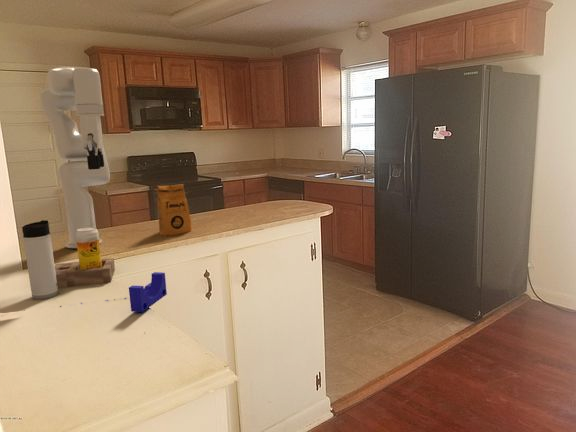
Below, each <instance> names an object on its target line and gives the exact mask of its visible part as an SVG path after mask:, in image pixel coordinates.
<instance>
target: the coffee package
mask: <svg viewBox="0 0 576 432" xmlns="http://www.w3.org/2000/svg"><path fill="white" fill-rule="evenodd" d="M185 192H186V191H185V187H184V183H182V184H180V183H179V184H174V185H173V184H171V185H157V186H156V194H157V195H156V196H157V211H158V228H159V229H158V230H159V235H161V234H162V235H161V236H163V235H164V237H167V236H166V235H169V236H175V235H181V234H185V233H189V232H192V231H193V230H192V219H191V214H190V210H189V204H188V200H187V197H186V193H185Z"/></svg>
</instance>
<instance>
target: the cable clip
mask: <svg viewBox="0 0 576 432" xmlns="http://www.w3.org/2000/svg"><path fill="white" fill-rule="evenodd" d="M128 294H129V303H130V311H131V312H133V313H134V312H137V313H144V312H145V311H146V310H147V309H149V308H150V307H152V306H153V305H154V304H156V303H157V302H159V301H160V300H161V299H163V298H164V297H165V296H167V294H168V293H167V283H166V273H165V272H160V271H159V272H158V271H157V272H156V271H154V272H152V273H151V281H150V283H148V284H146V285H145V286H144V285H131V286H129V287H128Z"/></svg>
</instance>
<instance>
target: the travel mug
mask: <svg viewBox="0 0 576 432" xmlns="http://www.w3.org/2000/svg"><path fill="white" fill-rule="evenodd" d="M21 231H22V239H23V245H24V252H25V258H26V265H27V270H28V272H27V273H28V278H29V286H30V291H31V298H32V299H33V300H37V301H38V300H40V301H41V300H47V299H52V298H54V297H57V296H58V294H59V288H57V287H58V286H57V279H56V272H55V260H54V251H53V245H52V237H51V232H50V223H49V220H44V219H42V220H40V221H35V222H31V223H28V224H26V225H24V226H22V227H21Z"/></svg>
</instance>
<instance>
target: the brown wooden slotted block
mask: <svg viewBox="0 0 576 432" xmlns="http://www.w3.org/2000/svg"><path fill="white" fill-rule="evenodd" d="M101 260H102V268H93V269H84V270H80V264H79V261H72V262H64V263H56V264H55V263H54V265H55V272H56V279H57V286H58V287H57V288H58V289H61V288H70V287H71V288H72V287H79V286H88V285H95V284H105V283H106V284H107V283H111V282H112V280H113V277H114V273H115V271H116V270H115V269H116V268H115V267H116V265H115V259H114V257H111V258H101Z"/></svg>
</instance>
